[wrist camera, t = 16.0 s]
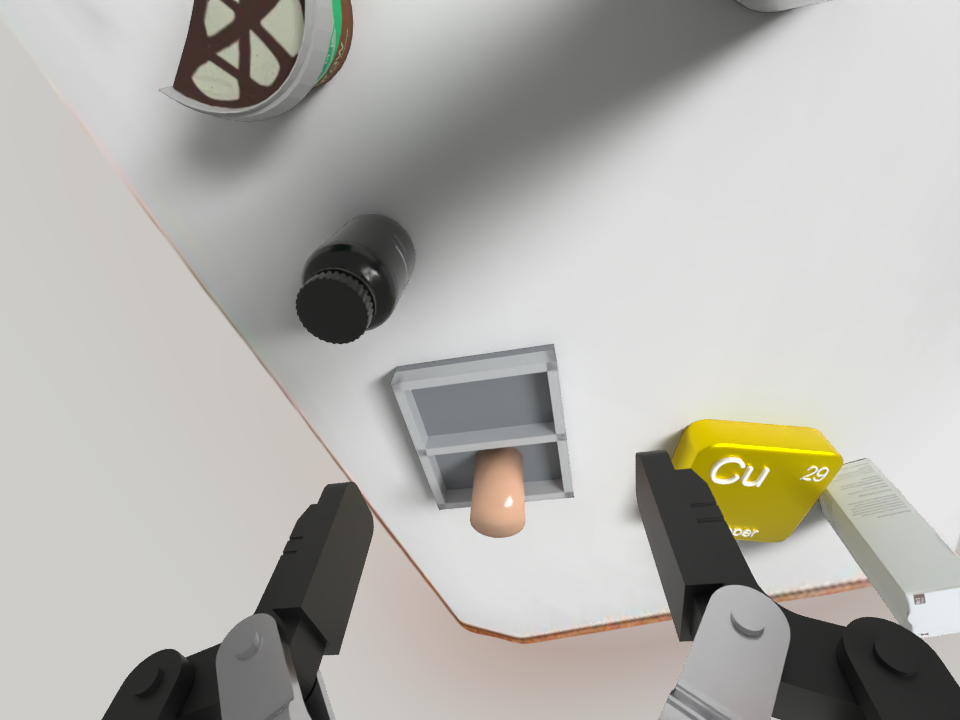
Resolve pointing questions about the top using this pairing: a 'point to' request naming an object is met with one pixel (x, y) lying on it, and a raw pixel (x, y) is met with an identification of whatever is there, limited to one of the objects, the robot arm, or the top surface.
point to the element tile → (759, 473)
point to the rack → (487, 420)
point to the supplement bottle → (355, 279)
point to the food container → (259, 55)
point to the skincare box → (895, 549)
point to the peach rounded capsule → (498, 492)
